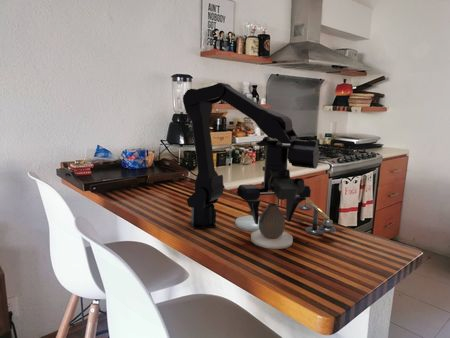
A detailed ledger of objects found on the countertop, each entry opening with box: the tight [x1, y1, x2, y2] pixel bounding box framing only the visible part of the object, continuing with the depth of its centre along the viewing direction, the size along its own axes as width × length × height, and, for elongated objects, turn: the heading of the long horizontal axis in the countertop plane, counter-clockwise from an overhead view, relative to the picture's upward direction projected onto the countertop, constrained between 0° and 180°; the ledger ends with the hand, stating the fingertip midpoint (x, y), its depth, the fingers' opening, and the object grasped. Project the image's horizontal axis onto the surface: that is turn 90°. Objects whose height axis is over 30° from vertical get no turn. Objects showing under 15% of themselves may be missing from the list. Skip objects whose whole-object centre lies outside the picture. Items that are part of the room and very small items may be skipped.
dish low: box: [250, 230, 294, 250], centre depth 90 cm, size 11×11×1 cm
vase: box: [259, 202, 286, 239], centre depth 89 cm, size 7×7×9 cm
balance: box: [297, 197, 337, 236], centre depth 97 cm, size 16×5×9 cm, turn 18°
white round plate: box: [235, 215, 260, 233], centre depth 102 cm, size 11×11×1 cm
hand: (272, 222), depth 89 cm, fingers open, 9 cm apart
